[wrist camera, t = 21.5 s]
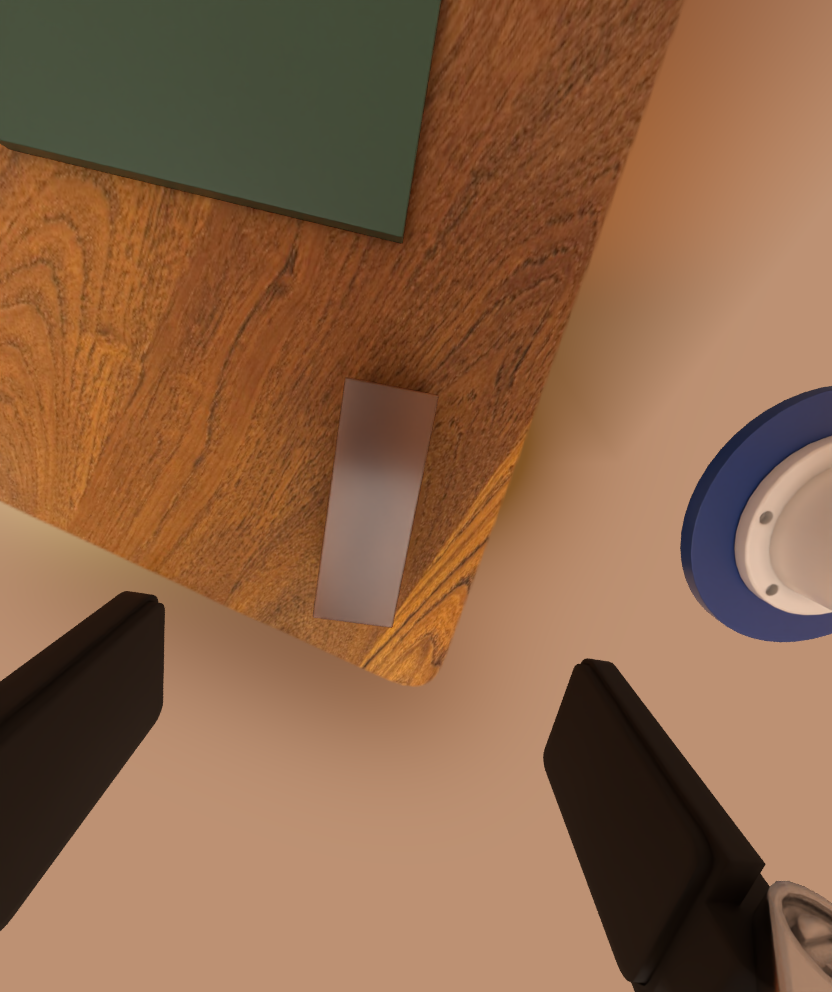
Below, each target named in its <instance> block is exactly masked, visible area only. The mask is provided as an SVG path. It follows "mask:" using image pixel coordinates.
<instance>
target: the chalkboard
mask: <svg viewBox="0 0 832 992" xmlns="http://www.w3.org/2000/svg"><path fill="white" fill-rule="evenodd" d="M440 7H441V0H0V144H2V145H3V146H5V147H7V148H8V149H11V150H15V151H19V152H23V153H27V154H32V155H36V156H40V157H44V158H48V159H52V160H57V161H61V162H65V163H69V164H73V165H77V166H81V167H86V168H90V169H94V170H98V171H102V172H106V173H111V174H115V175H119V176H123V177H127V178H131V179H136V180H140V181H144V182H148V183H152V184H156V185H161V186H165V187H169V188H173V189H177V190H181V191H186V192H190V193H194V194H198V195H202V196H206V197H211V198H215V199H219V200H223V201H227V202H231V203H236V204H240V205H244V206H248V207H252V208H256V209H261V210H265V211H269V212H273V213H277V214H281V215H286V216H290V217H294V218H298V219H302V220H306V221H311V222H315V223H319V224H323V225H327V226H331V227H336V228H340V229H344V230H348V231H352V232H356V233H360V234H365V235H369V236H373V237H377V238H381V239H385V240H390V241H394V242H398V243H402V242H403V236H404V230H405V224H406V217H407V211H408V205H409V199H410V193H411V186H412V180H413V174H414V168H415V162H416V155H417V149H418V143H419V137H420V131H421V124H422V118H423V112H424V106H425V100H426V93H427V87H428V81H429V75H430V69H431V62H432V56H433V50H434V44H435V38H436V31H437V25H438V19H439V13H440Z"/></svg>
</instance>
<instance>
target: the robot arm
mask: <svg viewBox="0 0 832 992" xmlns="http://www.w3.org/2000/svg"><path fill="white" fill-rule="evenodd" d="M734 550H735V559H736V565H737V568H738V571H739V574H740V577H741V578H742V580H743V581H744V583H745V584H746V586H747V587H748V589H749V590H750V591H751V592H753V593H754V594H755V595H756V596H757V597H758V598H760V599H762V600H763V601H765V602H767V603H768V604H770V605H772V606H773V607H775V608H778V609H780V610H783V611H785V612H788V613H794V614H800V615H820V614H825V613H830V612H832V436H829V437H826V438H823V439H821V440H818V441H816V442H813V443H810V444H808V445H807V446H805V447H803V448H801V449H800V450H798V451H796V452H794V453H793V454H791V455H790V456H789V457H787V458H786V459H785V460H783V461H782V462H781V463H780V464H778V465H777V466H776V467H775V468H774V469H773V470H772V471H771V472H770V473H769V474H768V475H767V476H766V477H765V478H764V479H763V480H762V482H761V483H760V484H759V485H758V487H757V488H756V490H755V491H754V493H753V494H752V495H751V497H750V498H749V500H748V502H747V504H746V506H745V508H744V510H743V512H742V514H741V517H740V521H739V524H738V527H737V531H736V538H735V548H734ZM164 624H165V608H164V605H163V604H162V603H158V599H157V597H156V596H154V595H150V594H144V593H136V592H130V591H125V592H122V593H120V594H119V595H117V596H116V597H115V598H113V599H112V600H111V601H109V602H108V603H106V604H105V605H104V606H102V607H101V608H100V609H98V610H97V611H96V612H94V613H93V614H92V615H90V616H89V617H87V618H86V619H85V620H83V621H82V622H81V623H79V624H78V625H77V626H75V627H74V628H73V629H71V630H70V631H68V632H67V633H66V634H64V635H63V636H62V637H60V638H59V639H58V640H56V641H55V642H53V643H52V644H51V645H49V646H48V647H47V648H45V649H44V650H43V651H41V652H40V653H39V654H37V655H36V656H35V657H33V658H32V659H30V660H29V661H28V662H26V663H25V664H24V665H22V666H21V667H19V668H18V669H17V670H15V671H14V672H13V673H11V674H10V675H9V676H7V677H6V678H5V679H3V680H2V681H0V931H1V930H2V929H3V928H4V927H5V926H6V925H7V924H8V922H9V921H10V920H11V919H12V917H13V916H14V915H15V913H16V912H17V911H18V909H19V908H20V907H21V905H22V904H23V903H24V901H25V900H26V898H27V897H28V896H29V894H30V893H31V892H32V890H33V889H34V888H35V886H36V885H37V883H38V882H39V881H40V879H41V878H42V877H43V875H44V874H45V873H46V871H47V870H48V868H49V867H50V866H51V864H52V863H53V862H54V860H55V859H56V858H57V856H58V855H59V853H60V852H61V851H62V849H63V848H64V847H65V845H66V844H67V842H68V841H69V840H70V838H71V837H72V836H73V834H74V833H75V832H76V830H77V829H78V828H79V826H80V825H81V823H82V822H83V821H84V819H85V818H86V817H87V815H88V814H89V812H90V811H91V810H92V809H93V807H94V806H95V804H96V803H97V802H98V800H99V799H100V798H101V796H102V795H103V793H104V792H105V791H106V789H107V788H108V787H109V785H110V784H111V783H112V781H113V780H114V778H115V777H116V776H117V774H118V773H119V772H120V770H121V769H122V768H123V766H124V765H125V764H126V762H127V761H128V759H129V758H130V757H131V755H132V754H133V753H134V751H135V750H136V749H137V747H138V746H139V744H140V743H141V742H142V740H143V739H144V738H145V736H146V735H147V734H148V732H149V731H150V729H151V728H152V727H153V725H154V724H155V722H156V721H157V719H158V717H159V715H160V712H161V709H162V706H163V673H164ZM543 759H544V767H545V771H546V773H547V776H548V779H549V781H550V784H551V787H552V789H553V792H554V795H555V797H556V800H557V803H558V805H559V808H560V811H561V814H562V816H563V819H564V822H565V824H566V827H567V830H568V833H569V835H570V838H571V840H572V843H573V846H574V849H575V851H576V854H577V857H578V860H579V862H580V865H581V868H582V870H583V873H584V875H585V878H586V881H587V884H588V887H589V889H590V892H591V895H592V897H593V900H594V903H595V905H596V908H597V911H598V914H599V916H600V919H601V922H602V924H603V927H604V930H605V932H606V935H607V938H608V940H609V943H610V946H611V949H612V951H613V954H614V956H615V959H616V962H617V965H618V967H619V969H620V971H621V973H622V974H623V976H624V977H625V979H626V980H627V981H629V982H631V983H632V986H633V988H634V991H635V992H832V903H831V902H829V901H828V900H826V899H825V898H824V897H822V896H821V895H819V894H817V893H815V892H814V891H811V890H810V889H808V888H806V887H805V886H802V885H799V884H796V883H793V882H790V881H776V882H775V883H774V884H773V885H771V886H769V885H768V884H767V882H766V881H765V880H764V878H763V877H762V875H761V874H760V873H761V871H762V869H763V867H764V866H765V863H764V862H763V860H762V859H761V858H760V856H759V855H758V854H757V852H756V851H755V850H754V848H753V847H752V846H751V844H750V843H749V842H748V840H747V839H746V838H745V836H744V835H743V834H742V832H741V831H740V830H739V829H738V827H737V826H736V825H735V823H734V822H733V821H732V819H731V818H730V817H729V816H728V814H727V813H726V811H725V810H724V809H723V807H722V806H721V805H720V804H719V802H718V801H717V800H716V798H715V797H714V796H713V794H712V793H711V792H710V790H709V789H708V788H707V786H706V785H705V784H704V782H703V781H702V780H701V778H700V777H699V776H698V774H697V773H696V772H695V770H694V769H693V768H692V767H691V765H690V764H689V763H688V761H687V760H686V759H685V757H684V756H683V755H682V754H681V752H680V751H679V749H678V748H677V747H676V745H675V744H674V743H673V742H672V740H671V739H670V738H669V736H668V735H667V734H666V732H665V731H664V730H663V728H662V727H661V726H660V724H659V723H658V722H657V720H656V719H655V718H654V717H653V715H652V714H651V713H650V711H649V710H648V709H647V707H646V706H645V705H644V703H643V702H642V701H641V699H640V698H639V697H638V696H637V694H636V693H635V691H634V690H633V689H632V687H631V686H630V685H629V683H628V682H627V681H626V680H625V678H624V677H623V676H622V674H621V673H620V672H619V670H618V669H617V668H616V666H615V665H614V664H613V663H611V662H608V661H601V660H594V659H584V660H583V661H582V662H581V664H577V665H576V666H575V667H574V669H573V672H572V675H571V677H570V680H569V683H568V686H567V689H566V691H565V694H564V697H563V700H562V703H561V705H560V708H559V711H558V714H557V716H556V719H555V722H554V725H553V728H552V731H551V733H550V736H549V739H548V741H547V744H546V747H545V750H544V756H543Z"/></svg>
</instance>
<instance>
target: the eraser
mask: <svg viewBox="0 0 832 992" xmlns="http://www.w3.org/2000/svg"><path fill="white" fill-rule="evenodd" d="M438 398H439V396H438V395H434V394H430V393H425V392H420V391H415V390H410V389H405V388H400V387H395V386H390V385H385V384H380V383H375V382H370V381H365V380H360V379H354V378H345V383H344V390H343V398H342V405H341V412H340V420H339V427H338V434H337V442H336V449H335V456H334V464H333V471H332V478H331V486H330V493H329V500H328V508H327V515H326V522H325V530H324V537H323V544H322V552H321V559H320V566H319V574H318V581H317V588H316V596H315V603H314V610H313V617H314V618H321V619H329V620H337V621H344V622H352V623H360V624H367V625H375V626H382V627H390V628H392V627H393V622H394V617H395V612H396V607H397V602H398V597H399V592H400V587H401V582H402V577H403V572H404V567H405V562H406V557H407V552H408V547H409V542H410V537H411V532H412V527H413V522H414V518H415V513H416V508H417V503H418V498H419V493H420V488H421V483H422V478H423V473H424V468H425V463H426V458H427V453H428V448H429V443H430V438H431V433H432V428H433V423H434V418H435V413H436V408H437V403H438Z"/></svg>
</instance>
